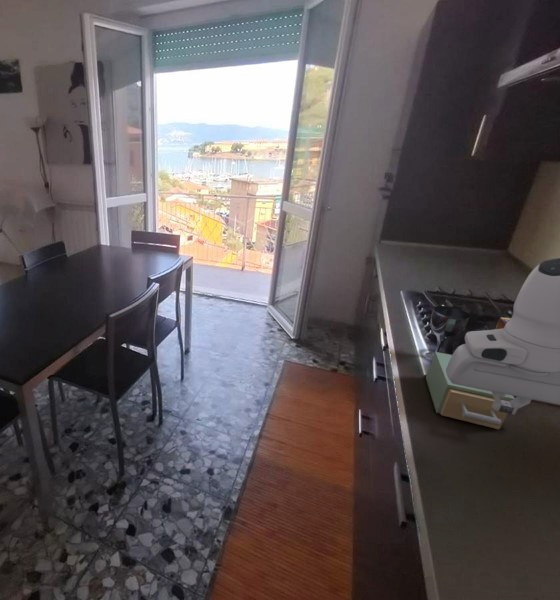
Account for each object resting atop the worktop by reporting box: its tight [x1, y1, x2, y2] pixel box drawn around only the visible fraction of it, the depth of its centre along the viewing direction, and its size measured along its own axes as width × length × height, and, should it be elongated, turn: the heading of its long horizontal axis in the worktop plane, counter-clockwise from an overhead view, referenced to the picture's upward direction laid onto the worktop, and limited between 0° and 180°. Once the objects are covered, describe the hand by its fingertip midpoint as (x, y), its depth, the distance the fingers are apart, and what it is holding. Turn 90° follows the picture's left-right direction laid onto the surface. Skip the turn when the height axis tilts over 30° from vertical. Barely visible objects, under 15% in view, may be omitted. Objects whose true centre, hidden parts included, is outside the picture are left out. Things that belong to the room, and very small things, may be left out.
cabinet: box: [425, 351, 516, 427], centre depth 85 cm, size 15×12×9 cm
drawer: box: [440, 388, 509, 430], centre depth 82 cm, size 18×10×7 cm, turn 154°
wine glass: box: [424, 305, 471, 360], centre depth 100 cm, size 8×8×15 cm
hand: (502, 410), depth 68 cm, fingers closed
